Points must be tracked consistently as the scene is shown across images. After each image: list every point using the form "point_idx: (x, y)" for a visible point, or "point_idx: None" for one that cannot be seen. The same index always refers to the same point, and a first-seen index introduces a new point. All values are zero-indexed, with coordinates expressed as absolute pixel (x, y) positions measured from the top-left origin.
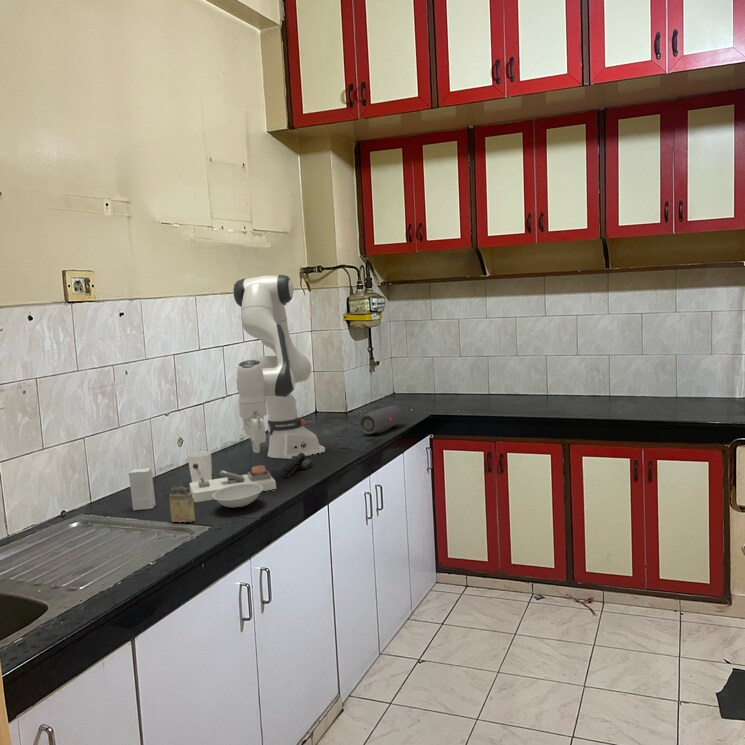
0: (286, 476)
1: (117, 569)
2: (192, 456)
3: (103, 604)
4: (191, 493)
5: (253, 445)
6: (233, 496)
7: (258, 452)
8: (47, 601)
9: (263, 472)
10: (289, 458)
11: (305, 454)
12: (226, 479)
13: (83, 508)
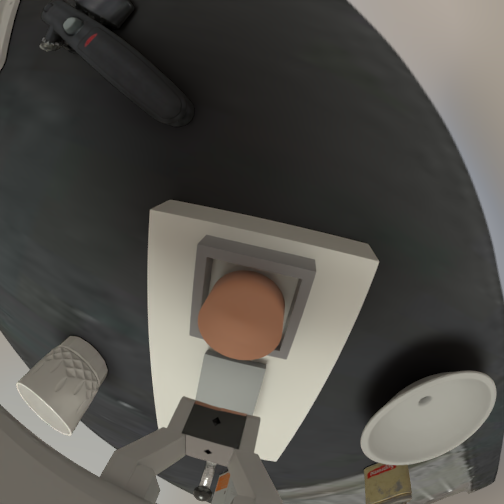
0: (190, 110)
1: (448, 484)
2: (69, 435)
3: (488, 474)
4: (407, 499)
5: (178, 457)
6: (386, 415)
7: (259, 419)
8: (446, 497)
9: (281, 302)
10: (2, 64)
11: (11, 18)
12: (180, 380)
13: (178, 485)
